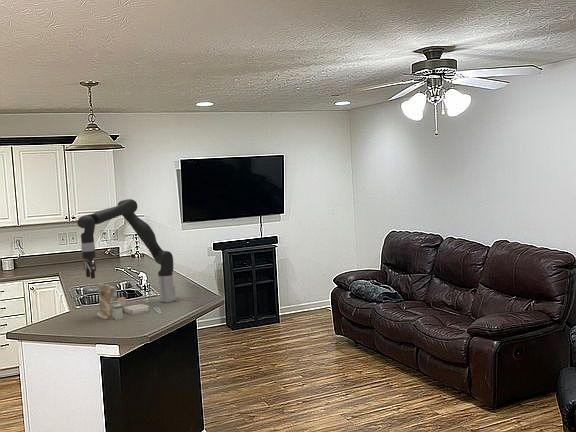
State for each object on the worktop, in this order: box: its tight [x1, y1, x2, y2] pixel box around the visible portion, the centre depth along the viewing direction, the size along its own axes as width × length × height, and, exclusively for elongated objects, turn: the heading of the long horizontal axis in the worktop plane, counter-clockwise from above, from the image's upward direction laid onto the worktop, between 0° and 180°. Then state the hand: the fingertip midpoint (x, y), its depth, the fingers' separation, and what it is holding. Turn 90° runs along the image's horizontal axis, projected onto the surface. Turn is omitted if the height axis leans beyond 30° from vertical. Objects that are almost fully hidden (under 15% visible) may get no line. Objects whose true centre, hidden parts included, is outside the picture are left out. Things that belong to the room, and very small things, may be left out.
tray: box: [123, 303, 151, 316], centre depth 371 cm, size 12×12×3 cm
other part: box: [112, 303, 124, 321], centre depth 354 cm, size 4×4×8 cm
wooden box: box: [96, 282, 118, 320], centre depth 363 cm, size 9×16×20 cm, turn 36°
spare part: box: [116, 296, 127, 312], centre depth 376 cm, size 4×4×8 cm
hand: (90, 277), depth 357 cm, fingers open, 8 cm apart
